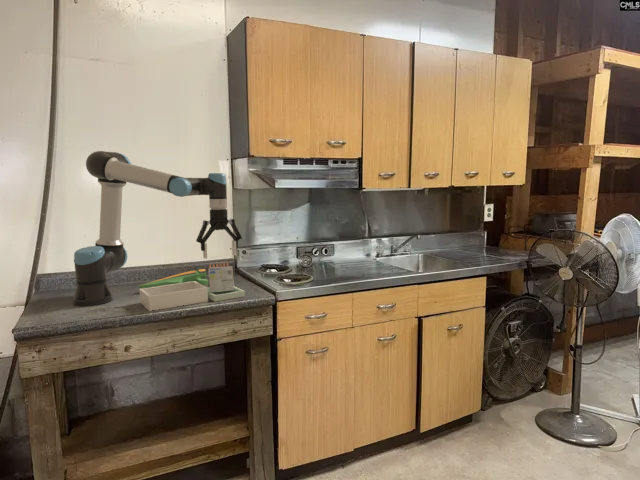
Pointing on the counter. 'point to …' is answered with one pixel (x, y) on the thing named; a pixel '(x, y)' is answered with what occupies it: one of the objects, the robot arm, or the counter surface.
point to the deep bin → (173, 295)
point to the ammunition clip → (217, 266)
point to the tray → (225, 294)
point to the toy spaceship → (180, 279)
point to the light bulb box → (221, 279)
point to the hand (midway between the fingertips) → (220, 256)
